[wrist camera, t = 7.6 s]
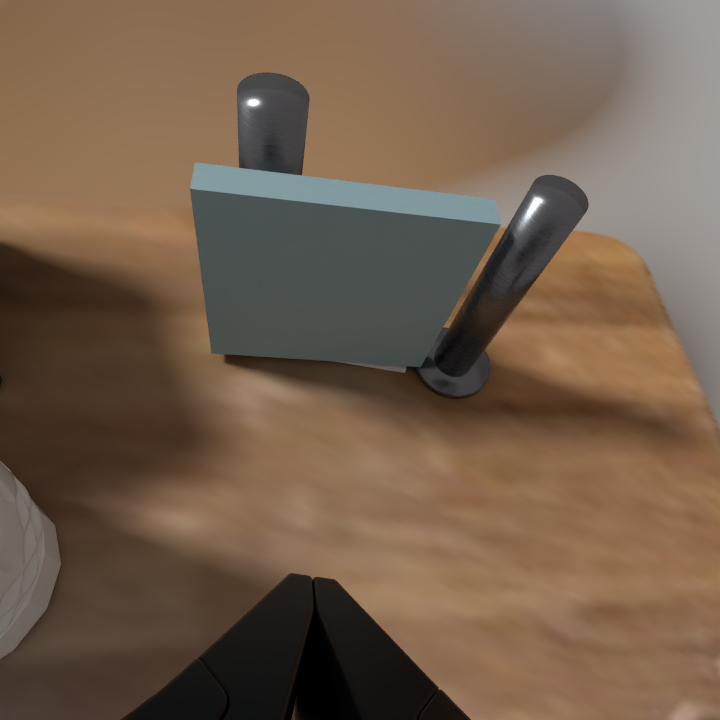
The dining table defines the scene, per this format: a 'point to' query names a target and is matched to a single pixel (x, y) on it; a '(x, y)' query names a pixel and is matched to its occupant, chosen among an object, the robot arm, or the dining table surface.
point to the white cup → (23, 561)
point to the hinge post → (502, 286)
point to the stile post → (272, 123)
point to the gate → (332, 264)
